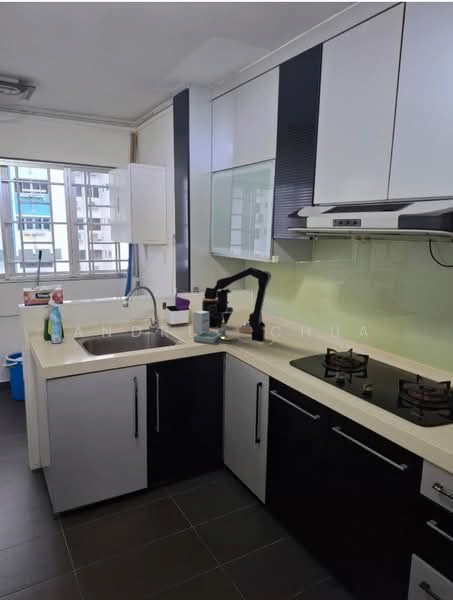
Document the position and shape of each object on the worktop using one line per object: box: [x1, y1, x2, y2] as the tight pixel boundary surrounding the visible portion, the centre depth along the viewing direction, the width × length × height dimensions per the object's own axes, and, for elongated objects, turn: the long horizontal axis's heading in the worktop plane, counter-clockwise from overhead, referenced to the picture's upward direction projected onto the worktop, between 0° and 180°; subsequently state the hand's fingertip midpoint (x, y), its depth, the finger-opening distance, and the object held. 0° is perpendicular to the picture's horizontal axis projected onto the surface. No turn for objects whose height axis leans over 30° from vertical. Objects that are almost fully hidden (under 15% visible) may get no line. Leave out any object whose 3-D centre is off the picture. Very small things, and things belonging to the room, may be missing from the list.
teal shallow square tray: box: [193, 331, 222, 345], centre depth 226 cm, size 12×12×3 cm
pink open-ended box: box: [238, 323, 253, 335], centre depth 243 cm, size 7×7×4 cm
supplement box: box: [192, 310, 210, 334], centre depth 243 cm, size 7×7×13 cm
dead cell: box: [243, 321, 250, 328], centre depth 243 cm, size 4×4×6 cm
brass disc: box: [220, 334, 236, 340], centre depth 224 cm, size 8×8×1 cm
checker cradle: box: [216, 337, 238, 345], centre depth 224 cm, size 9×9×2 cm
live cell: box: [217, 321, 227, 335], centre depth 233 cm, size 4×4×9 cm
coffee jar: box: [201, 297, 218, 328], centre depth 260 cm, size 11×11×18 cm
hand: (222, 326), depth 233 cm, fingers open, 9 cm apart
